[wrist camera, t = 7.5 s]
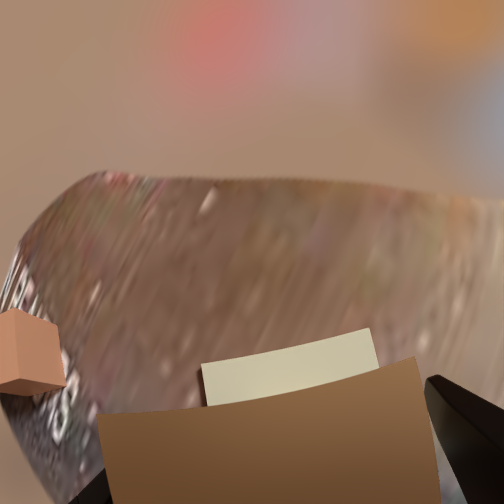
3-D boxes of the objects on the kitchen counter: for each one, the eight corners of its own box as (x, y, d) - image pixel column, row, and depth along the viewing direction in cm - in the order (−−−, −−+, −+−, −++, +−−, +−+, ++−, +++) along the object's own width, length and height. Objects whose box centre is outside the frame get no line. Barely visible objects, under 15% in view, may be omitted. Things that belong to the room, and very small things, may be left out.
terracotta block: (67, 386, 19) (19, 377, 15) (28, 396, 19) (-17, 388, 15) (57, 325, 21) (14, 307, 17) (21, 341, 21) (-21, 325, 17)
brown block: (350, 460, 14) (442, 599, 2) (265, 478, 14) (163, 631, 2) (334, 383, 16) (414, 356, 4) (250, 401, 17) (96, 414, 4)
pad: (398, 482, 13) (401, 484, 13) (232, 514, 14) (229, 517, 14) (367, 329, 18) (369, 327, 17) (204, 364, 19) (201, 363, 18)
